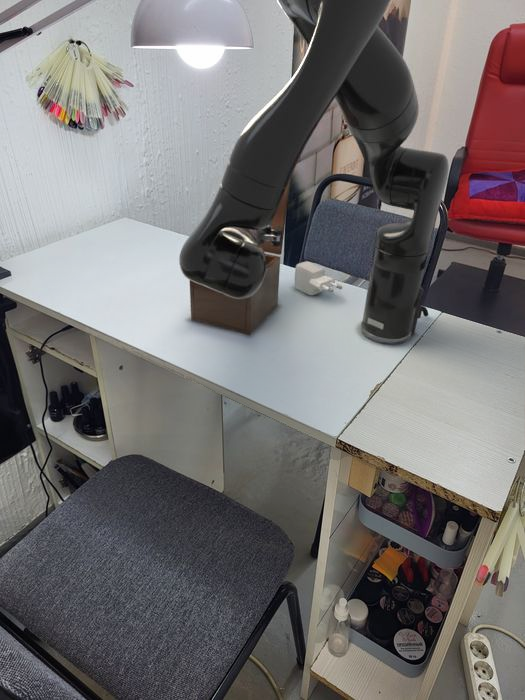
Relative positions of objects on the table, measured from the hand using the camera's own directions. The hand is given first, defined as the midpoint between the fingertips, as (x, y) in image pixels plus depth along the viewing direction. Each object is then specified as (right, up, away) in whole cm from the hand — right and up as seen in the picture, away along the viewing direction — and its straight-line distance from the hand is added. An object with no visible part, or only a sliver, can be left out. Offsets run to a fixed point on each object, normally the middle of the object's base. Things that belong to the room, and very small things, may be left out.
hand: (243, 228), depth 95 cm
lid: (+2, +5, +6) cm, 8 cm away
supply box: (-2, -15, +10) cm, 18 cm away
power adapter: (+15, -10, +18) cm, 26 cm away
